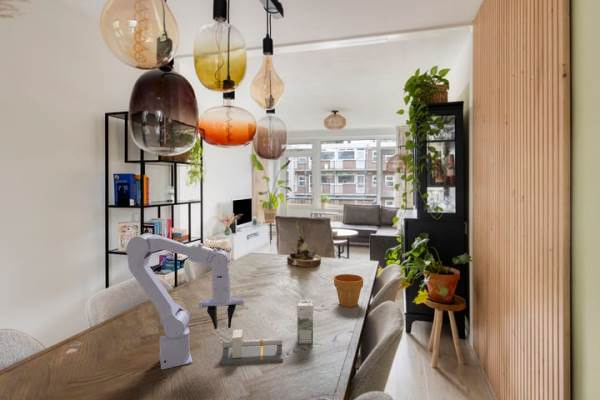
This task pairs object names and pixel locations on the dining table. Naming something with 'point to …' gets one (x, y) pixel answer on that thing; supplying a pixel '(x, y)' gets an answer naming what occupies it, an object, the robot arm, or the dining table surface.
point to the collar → (237, 343)
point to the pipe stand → (254, 352)
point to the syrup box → (305, 322)
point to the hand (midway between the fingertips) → (222, 327)
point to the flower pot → (348, 289)
